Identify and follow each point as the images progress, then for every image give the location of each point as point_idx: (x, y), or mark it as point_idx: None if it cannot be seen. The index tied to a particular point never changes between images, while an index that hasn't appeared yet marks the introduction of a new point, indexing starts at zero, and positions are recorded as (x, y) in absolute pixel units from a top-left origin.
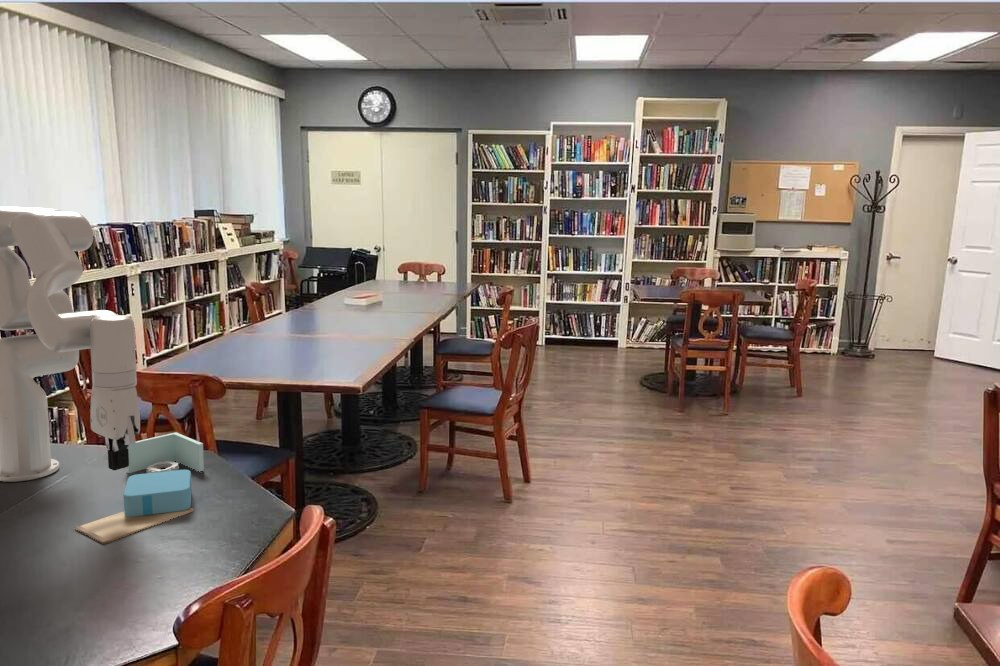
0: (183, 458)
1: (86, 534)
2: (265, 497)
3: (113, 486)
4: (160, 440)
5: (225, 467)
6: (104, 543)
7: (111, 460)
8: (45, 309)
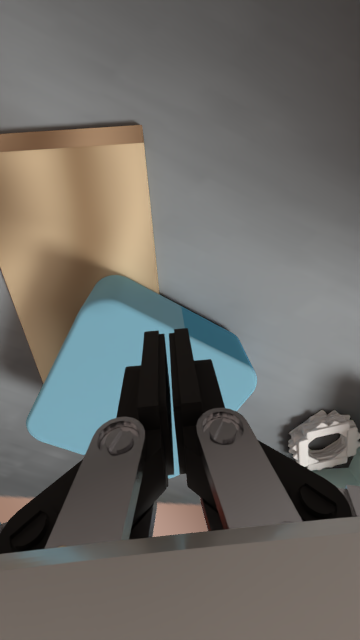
0: None
1: (65, 130)
2: (29, 494)
3: (345, 339)
4: None
5: None
6: None
7: (154, 360)
8: None
